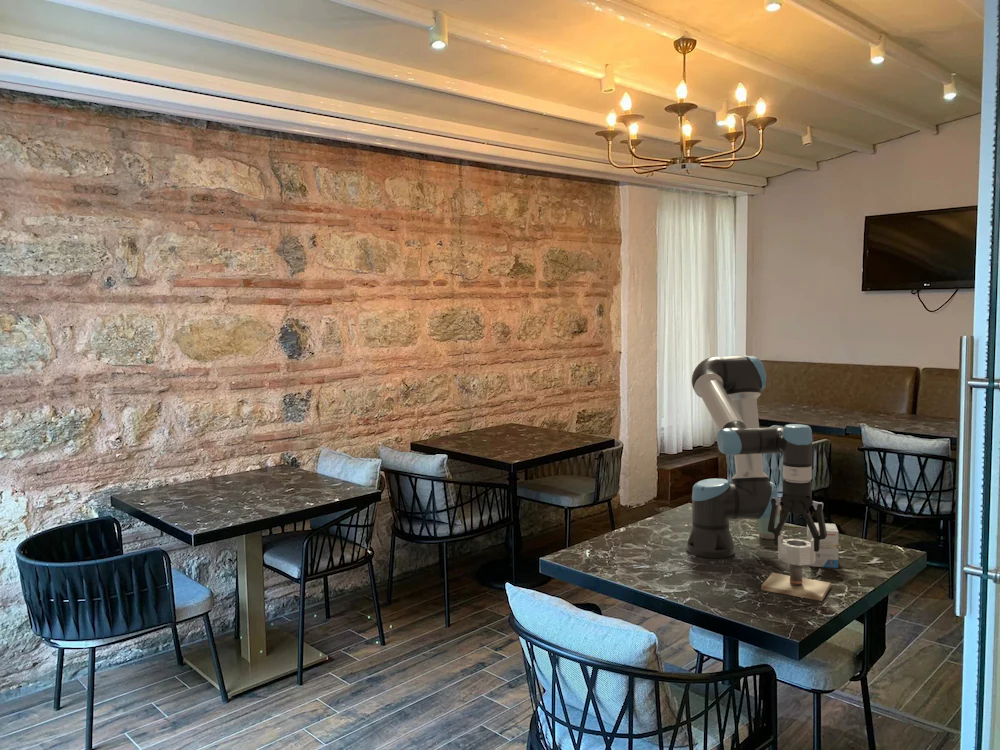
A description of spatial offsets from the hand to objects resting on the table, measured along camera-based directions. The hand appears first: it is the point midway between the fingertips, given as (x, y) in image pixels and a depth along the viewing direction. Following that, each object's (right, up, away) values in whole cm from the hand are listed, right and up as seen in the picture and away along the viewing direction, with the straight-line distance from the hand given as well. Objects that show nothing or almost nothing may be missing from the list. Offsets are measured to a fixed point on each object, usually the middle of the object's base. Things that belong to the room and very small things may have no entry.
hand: (796, 559), depth 207 cm
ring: (0, 0, 0) cm, 0 cm away
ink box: (+16, -7, +21) cm, 28 cm away
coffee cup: (+10, -4, +49) cm, 50 cm away
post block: (0, -8, +1) cm, 8 cm away
